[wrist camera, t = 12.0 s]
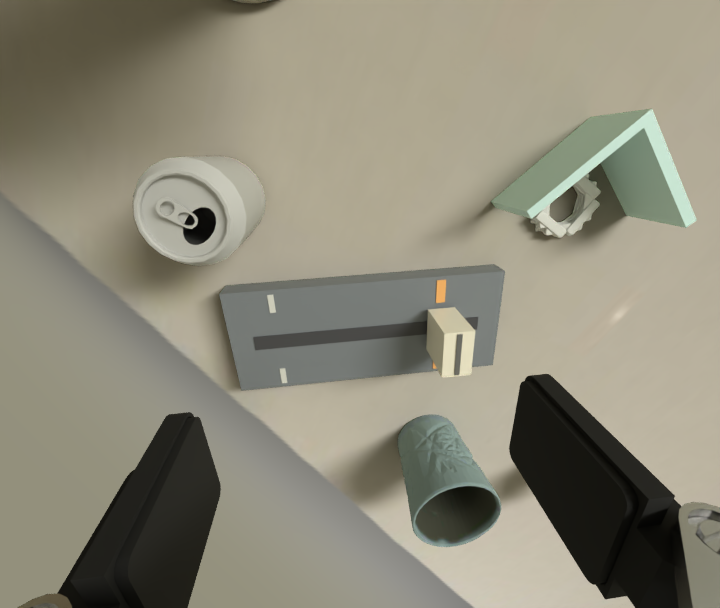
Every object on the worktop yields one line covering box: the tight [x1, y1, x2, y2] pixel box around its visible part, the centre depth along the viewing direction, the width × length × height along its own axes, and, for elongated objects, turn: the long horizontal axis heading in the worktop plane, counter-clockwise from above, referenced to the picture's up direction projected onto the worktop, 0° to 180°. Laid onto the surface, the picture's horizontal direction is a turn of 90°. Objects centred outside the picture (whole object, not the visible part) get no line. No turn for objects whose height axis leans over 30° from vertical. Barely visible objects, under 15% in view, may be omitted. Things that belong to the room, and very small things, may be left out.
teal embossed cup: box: [398, 415, 501, 547], centre depth 43 cm, size 10×10×12 cm
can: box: [133, 156, 266, 266], centre depth 28 cm, size 8×8×12 cm
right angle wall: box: [491, 109, 696, 238], centre depth 34 cm, size 12×12×8 cm
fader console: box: [219, 264, 505, 391], centre depth 39 cm, size 12×30×3 cm, turn 93°
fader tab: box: [426, 307, 475, 378], centre depth 36 cm, size 5×3×6 cm, turn 3°
